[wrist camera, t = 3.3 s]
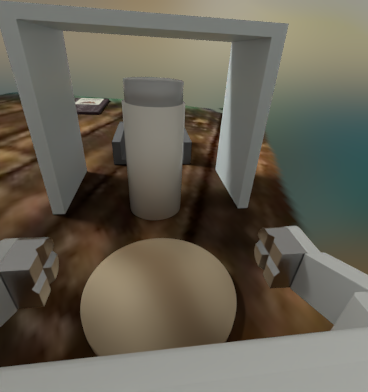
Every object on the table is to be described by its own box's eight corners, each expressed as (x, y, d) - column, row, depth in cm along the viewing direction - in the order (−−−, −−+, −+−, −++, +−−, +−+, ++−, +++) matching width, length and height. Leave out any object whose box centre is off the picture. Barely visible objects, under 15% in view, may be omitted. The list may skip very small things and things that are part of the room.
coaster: (154, 438, 9) (154, 433, 9) (53, 294, 14) (51, 288, 14) (262, 293, 15) (264, 287, 15) (163, 228, 20) (163, 223, 20)
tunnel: (247, 207, 23) (288, 23, 16) (53, 214, 21) (-8, 0, 13) (222, 169, 31) (242, 33, 24) (78, 171, 29) (48, 18, 21)
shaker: (153, 227, 20) (150, 85, 15) (120, 204, 23) (106, 77, 17) (190, 206, 23) (199, 82, 18) (157, 188, 26) (156, 76, 20)
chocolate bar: (56, 111, 53) (76, 98, 68) (57, 115, 53) (76, 101, 68) (98, 112, 54) (108, 99, 69) (98, 116, 54) (109, 102, 70)
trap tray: (190, 163, 32) (191, 142, 31) (114, 164, 31) (111, 141, 29) (181, 140, 41) (182, 122, 39) (121, 140, 39) (119, 121, 38)
